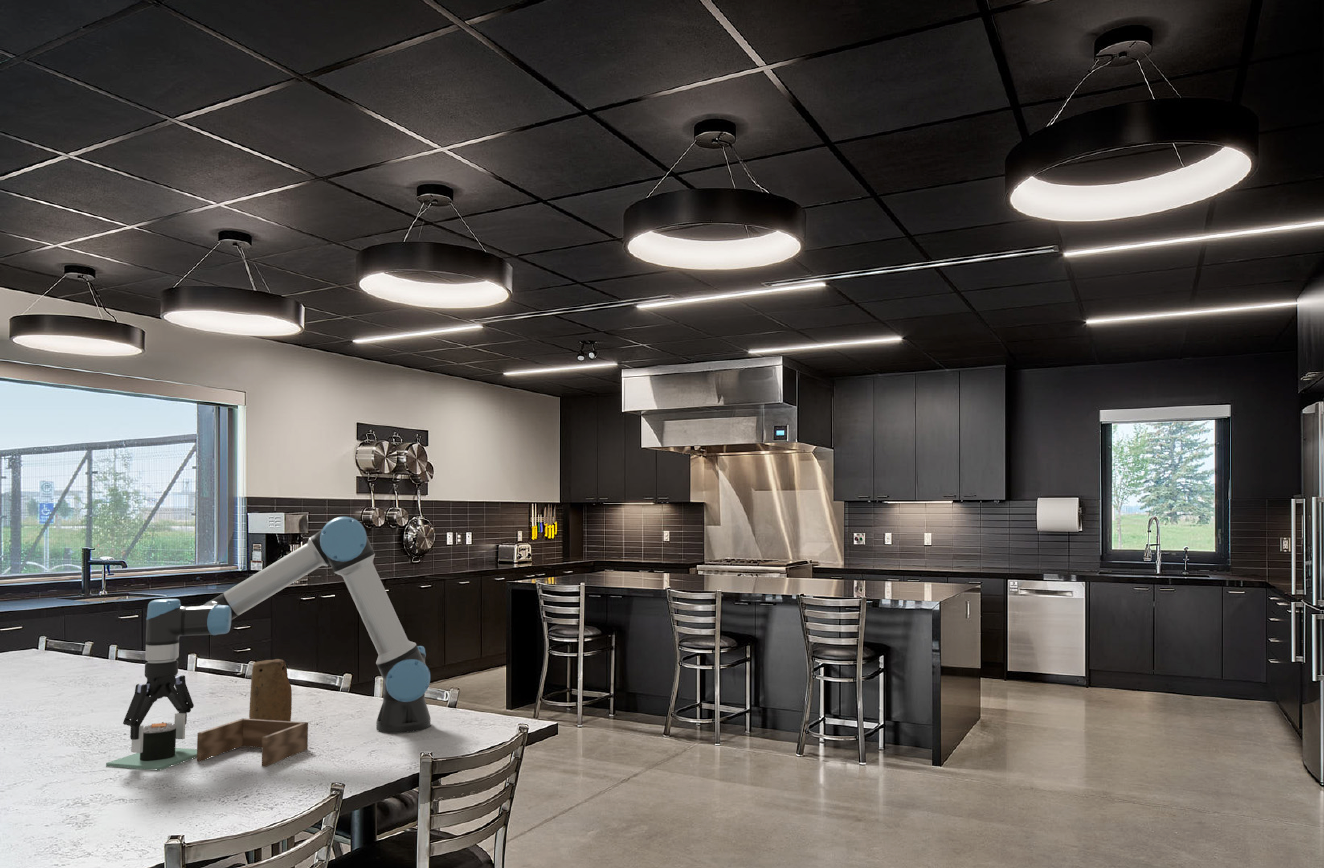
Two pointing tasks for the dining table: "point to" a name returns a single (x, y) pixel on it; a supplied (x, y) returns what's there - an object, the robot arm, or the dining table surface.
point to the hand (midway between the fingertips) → (158, 745)
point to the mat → (136, 763)
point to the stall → (255, 738)
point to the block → (270, 691)
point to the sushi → (158, 741)
